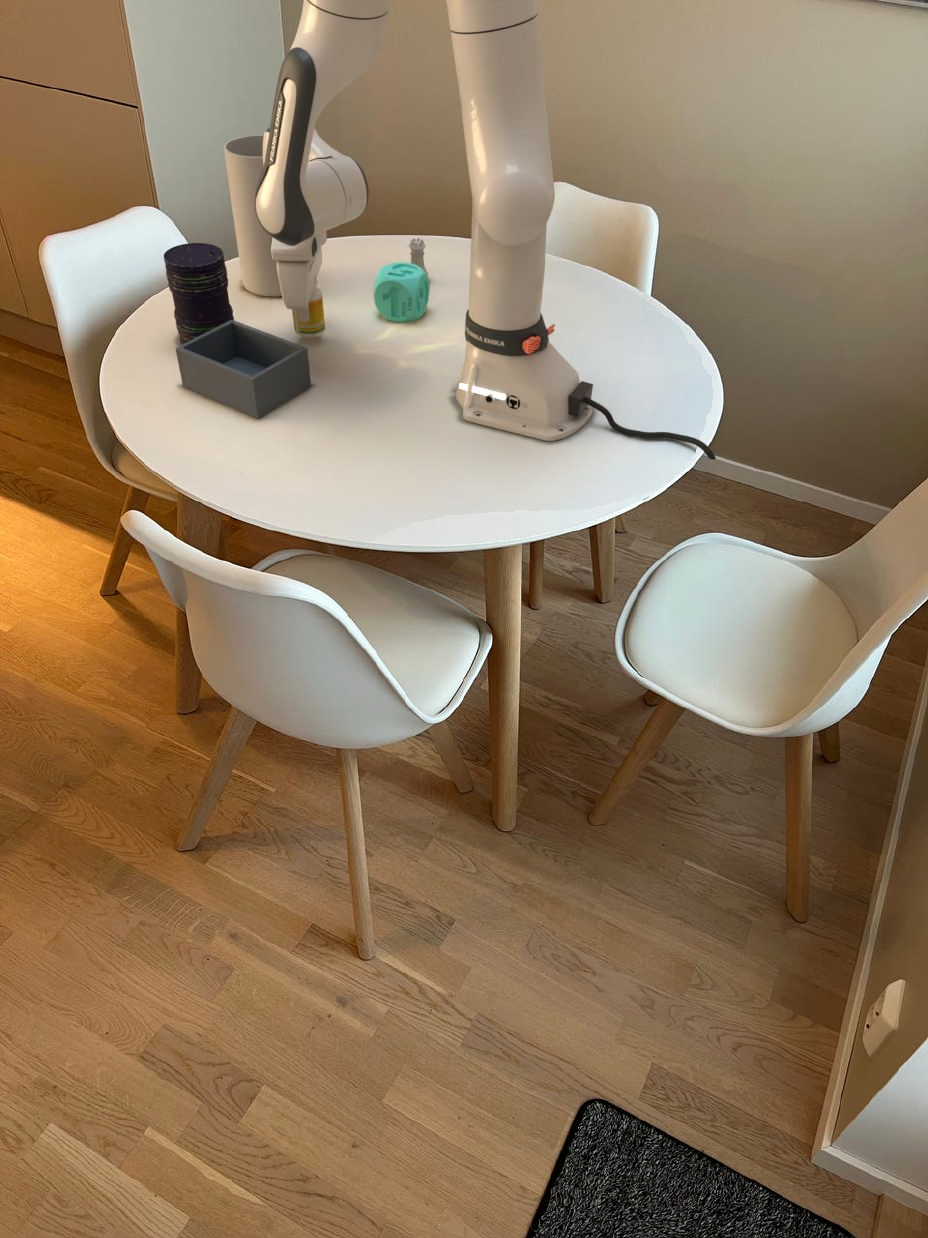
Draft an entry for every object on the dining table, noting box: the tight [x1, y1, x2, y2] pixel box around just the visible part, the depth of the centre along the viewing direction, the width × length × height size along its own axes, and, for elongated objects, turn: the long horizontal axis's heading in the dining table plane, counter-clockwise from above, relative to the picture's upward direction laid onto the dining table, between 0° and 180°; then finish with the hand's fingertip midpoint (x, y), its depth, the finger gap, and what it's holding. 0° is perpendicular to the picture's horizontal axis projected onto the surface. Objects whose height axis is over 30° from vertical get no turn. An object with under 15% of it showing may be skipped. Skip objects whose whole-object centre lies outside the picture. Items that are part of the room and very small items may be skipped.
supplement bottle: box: [291, 276, 326, 338], centre depth 160 cm, size 5×5×10 cm
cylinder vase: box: [223, 134, 282, 297], centre depth 172 cm, size 12×12×25 cm
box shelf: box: [174, 319, 312, 419], centre depth 149 cm, size 17×13×7 cm
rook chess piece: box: [408, 237, 429, 277], centre depth 180 cm, size 4×4×8 cm
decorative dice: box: [373, 261, 431, 323], centre depth 170 cm, size 8×8×8 cm
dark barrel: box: [163, 242, 235, 345], centre depth 158 cm, size 10×10×15 cm
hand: (307, 311), depth 160 cm, fingers closed on supplement bottle, 5 cm apart
